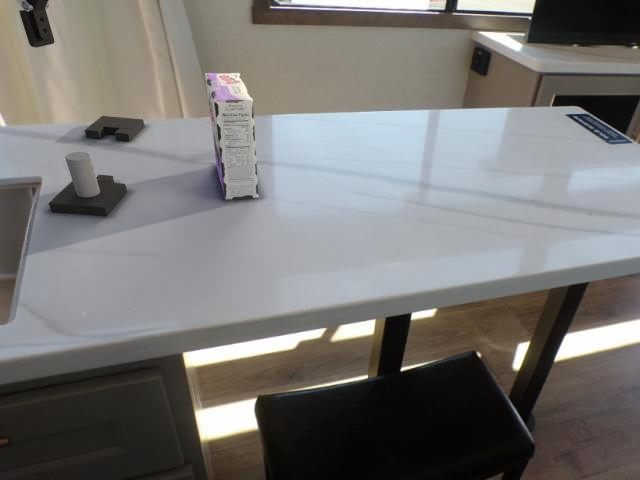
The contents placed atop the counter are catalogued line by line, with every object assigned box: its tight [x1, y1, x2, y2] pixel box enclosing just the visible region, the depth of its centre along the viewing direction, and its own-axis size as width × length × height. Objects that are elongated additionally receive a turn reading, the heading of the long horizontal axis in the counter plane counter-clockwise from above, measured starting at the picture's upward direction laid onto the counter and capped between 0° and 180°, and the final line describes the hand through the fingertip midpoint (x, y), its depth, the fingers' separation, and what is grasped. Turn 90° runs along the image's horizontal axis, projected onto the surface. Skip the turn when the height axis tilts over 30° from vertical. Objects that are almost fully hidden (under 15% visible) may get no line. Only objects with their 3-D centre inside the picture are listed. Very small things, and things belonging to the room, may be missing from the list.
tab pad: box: [48, 151, 128, 217], centre depth 80 cm, size 8×10×8 cm
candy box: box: [204, 72, 260, 201], centre depth 86 cm, size 14×6×16 cm, turn 21°
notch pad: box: [84, 115, 146, 142], centre depth 102 cm, size 8×8×2 cm
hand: (11, 38), depth 66 cm, fingers open, 9 cm apart
